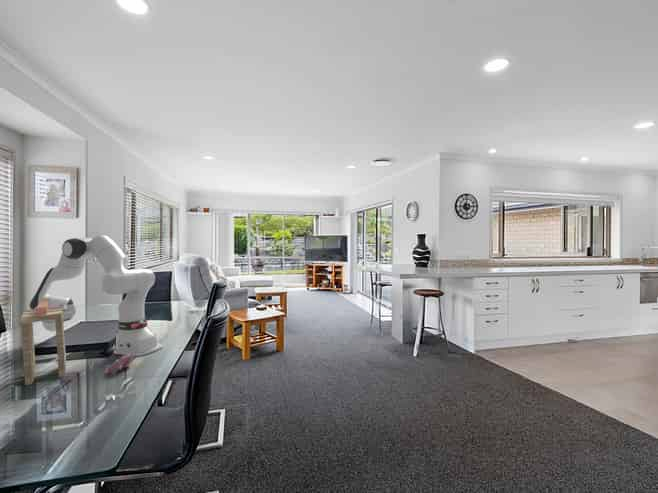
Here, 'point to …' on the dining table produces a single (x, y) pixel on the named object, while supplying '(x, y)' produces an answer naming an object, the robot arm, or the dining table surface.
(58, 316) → the wooden stand
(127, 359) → the video game controller
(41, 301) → the terracotta bar
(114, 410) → the dining table surface
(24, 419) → the dining table surface
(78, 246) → the robot arm
